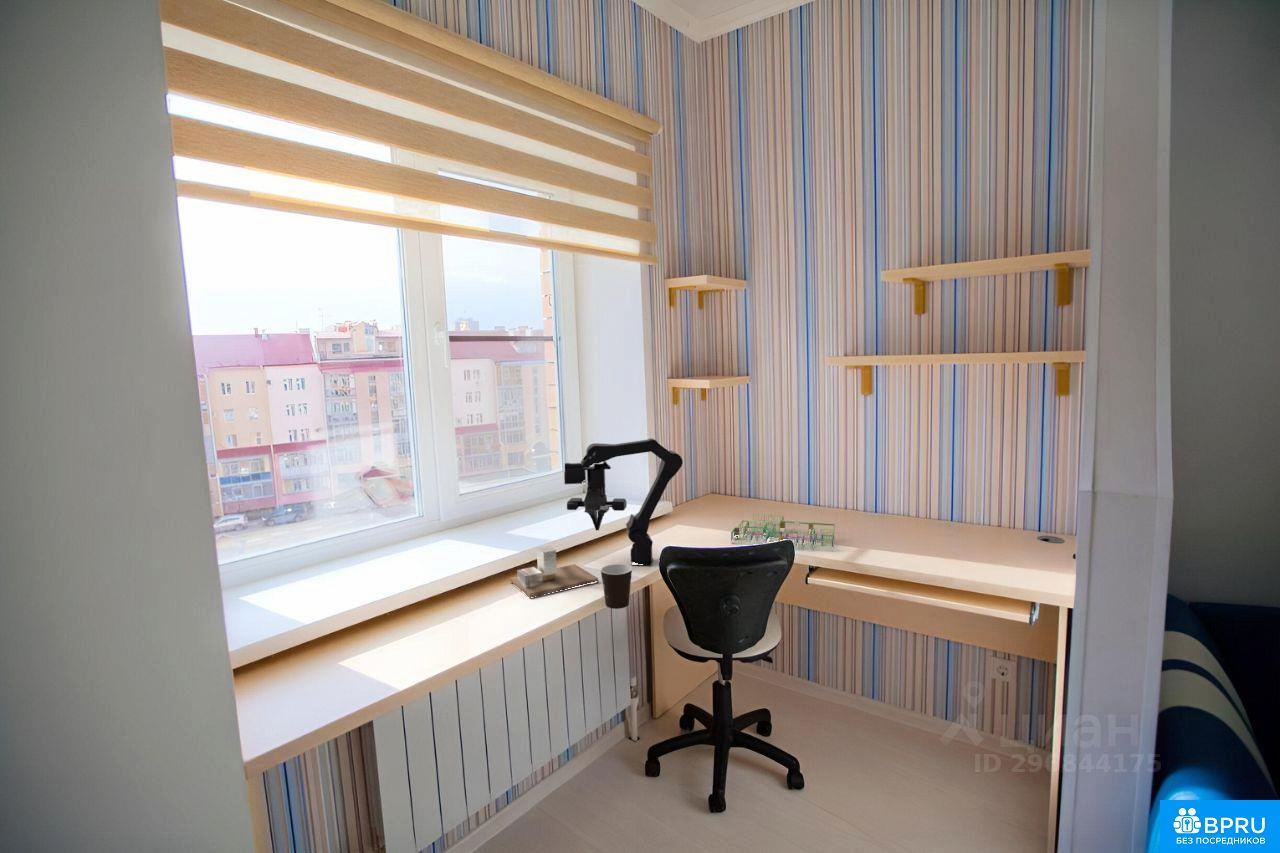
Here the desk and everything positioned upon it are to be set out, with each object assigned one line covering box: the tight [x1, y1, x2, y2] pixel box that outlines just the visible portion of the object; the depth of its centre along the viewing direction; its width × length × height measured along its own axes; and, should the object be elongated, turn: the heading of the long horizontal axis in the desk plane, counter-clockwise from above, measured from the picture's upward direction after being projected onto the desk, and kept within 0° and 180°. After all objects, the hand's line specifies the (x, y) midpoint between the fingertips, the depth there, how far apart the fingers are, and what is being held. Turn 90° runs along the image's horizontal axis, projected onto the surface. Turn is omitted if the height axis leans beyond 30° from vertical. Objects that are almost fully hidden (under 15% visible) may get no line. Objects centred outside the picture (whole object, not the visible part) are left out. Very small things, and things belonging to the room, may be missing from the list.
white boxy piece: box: [536, 545, 558, 581], centre depth 190 cm, size 9×5×9 cm, turn 122°
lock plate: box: [509, 563, 599, 599], centre depth 193 cm, size 22×16×5 cm
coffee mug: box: [600, 563, 633, 610], centre depth 176 cm, size 12×9×10 cm
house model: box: [730, 513, 836, 548], centre depth 236 cm, size 35×30×5 cm
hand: (597, 530), depth 207 cm, fingers closed
